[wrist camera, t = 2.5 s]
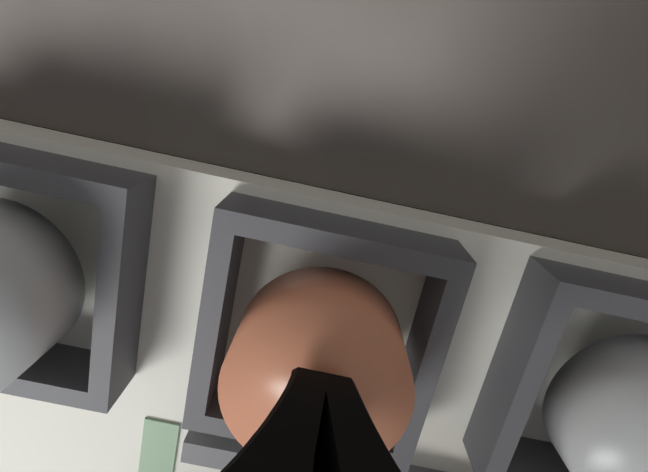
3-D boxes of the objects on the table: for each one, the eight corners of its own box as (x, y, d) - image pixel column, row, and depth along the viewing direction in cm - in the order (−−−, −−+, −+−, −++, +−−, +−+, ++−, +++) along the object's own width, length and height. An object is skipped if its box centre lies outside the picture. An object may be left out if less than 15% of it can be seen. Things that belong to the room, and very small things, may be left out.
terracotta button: (379, 424, 14) (387, 492, 12) (227, 394, 14) (205, 457, 12) (420, 285, 13) (439, 330, 10) (253, 250, 13) (233, 288, 10)
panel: (627, 581, 20) (686, 682, 16) (-152, 432, 19) (-259, 506, 15) (788, 289, 16) (910, 343, 12) (-189, 77, 15) (-346, 73, 11)
